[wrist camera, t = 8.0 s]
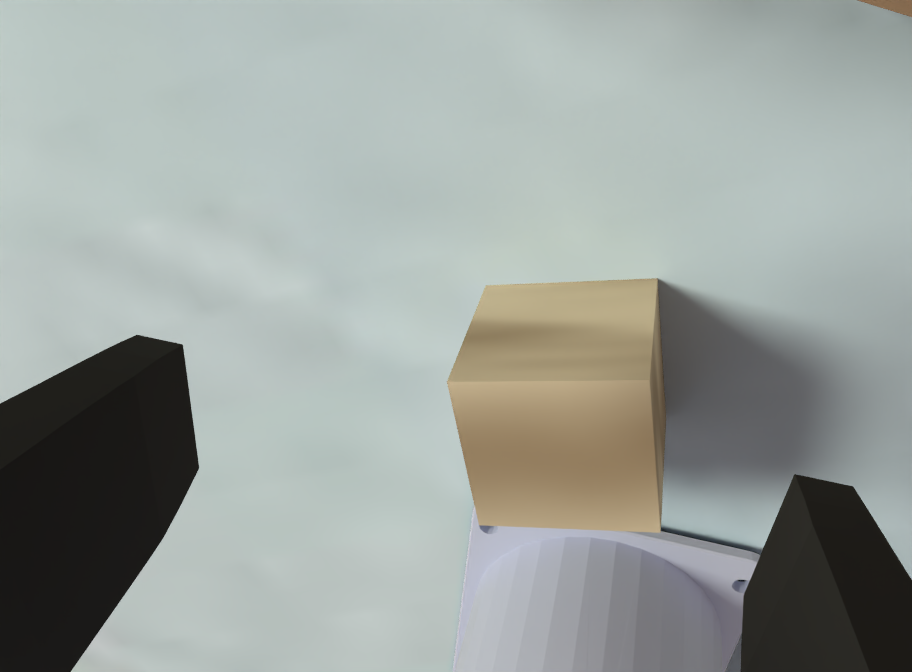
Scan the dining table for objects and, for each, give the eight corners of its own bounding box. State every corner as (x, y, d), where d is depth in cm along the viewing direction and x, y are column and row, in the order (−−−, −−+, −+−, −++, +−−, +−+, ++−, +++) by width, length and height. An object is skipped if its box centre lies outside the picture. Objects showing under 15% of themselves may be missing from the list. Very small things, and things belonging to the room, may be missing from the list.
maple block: (665, 416, 21) (660, 532, 18) (510, 415, 23) (479, 525, 19) (657, 276, 19) (650, 380, 16) (486, 283, 20) (447, 381, 17)
